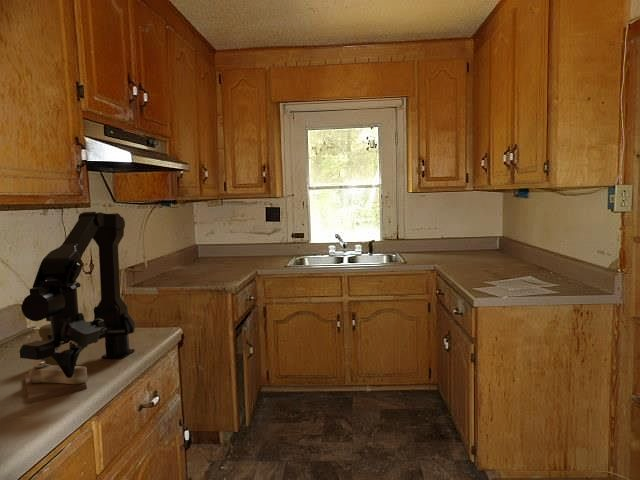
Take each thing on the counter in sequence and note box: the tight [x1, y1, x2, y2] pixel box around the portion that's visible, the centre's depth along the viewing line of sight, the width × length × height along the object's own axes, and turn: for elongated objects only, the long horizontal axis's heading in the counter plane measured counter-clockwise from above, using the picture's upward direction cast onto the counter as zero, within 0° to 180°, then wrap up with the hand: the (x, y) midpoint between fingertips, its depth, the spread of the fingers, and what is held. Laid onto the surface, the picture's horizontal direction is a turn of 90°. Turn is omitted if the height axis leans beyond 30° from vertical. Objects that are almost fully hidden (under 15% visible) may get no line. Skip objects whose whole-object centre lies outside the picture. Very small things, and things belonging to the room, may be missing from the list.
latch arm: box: [28, 364, 89, 384], centre depth 111 cm, size 15×4×3 cm, turn 78°
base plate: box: [24, 363, 88, 403], centre depth 113 cm, size 18×12×1 cm, turn 34°
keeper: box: [32, 357, 79, 368], centre depth 116 cm, size 9×8×6 cm
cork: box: [38, 323, 61, 366], centre depth 126 cm, size 6×6×11 cm
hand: (69, 377), depth 108 cm, fingers closed
